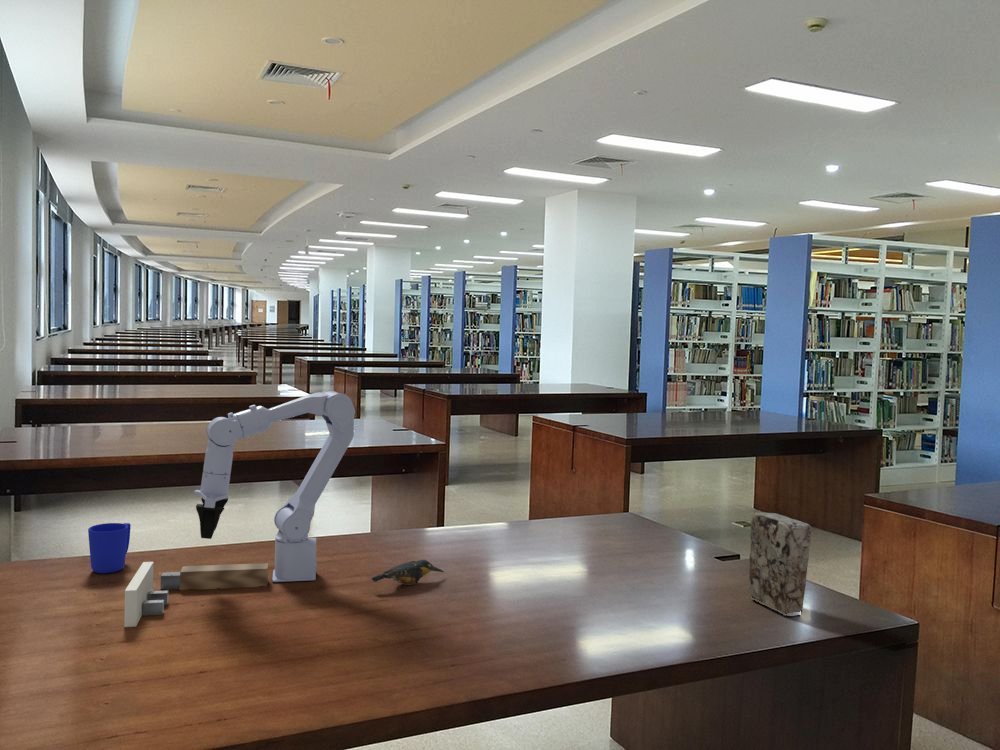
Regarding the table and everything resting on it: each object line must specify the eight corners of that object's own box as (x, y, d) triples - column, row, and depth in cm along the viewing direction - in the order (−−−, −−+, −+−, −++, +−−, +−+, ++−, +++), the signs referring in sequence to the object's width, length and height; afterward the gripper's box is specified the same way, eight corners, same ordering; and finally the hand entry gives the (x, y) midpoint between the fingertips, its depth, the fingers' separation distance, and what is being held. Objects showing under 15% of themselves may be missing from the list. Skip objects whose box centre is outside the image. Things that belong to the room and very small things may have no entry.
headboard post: (172, 593, 166) (172, 561, 165) (157, 625, 148) (158, 589, 148) (142, 594, 164) (143, 562, 164) (124, 627, 147) (124, 590, 147)
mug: (144, 561, 187) (144, 520, 186) (114, 577, 175) (114, 533, 174) (111, 559, 188) (112, 517, 187) (79, 574, 176) (80, 530, 175)
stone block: (809, 615, 167) (815, 523, 166) (785, 619, 164) (791, 526, 163) (763, 595, 179) (768, 509, 178) (740, 599, 176) (745, 511, 175)
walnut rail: (267, 580, 176) (268, 563, 176) (267, 586, 173) (267, 568, 172) (163, 584, 171) (163, 566, 171) (159, 591, 167) (160, 572, 167)
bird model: (377, 596, 169) (378, 573, 169) (365, 589, 173) (366, 567, 172) (449, 579, 182) (450, 558, 182) (437, 574, 186) (437, 553, 185)
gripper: (201, 465, 177) (193, 524, 177) (193, 476, 163) (184, 540, 163) (234, 468, 178) (226, 527, 178) (228, 479, 164) (219, 543, 164)
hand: (208, 533), depth 171 cm, fingers open, 7 cm apart
